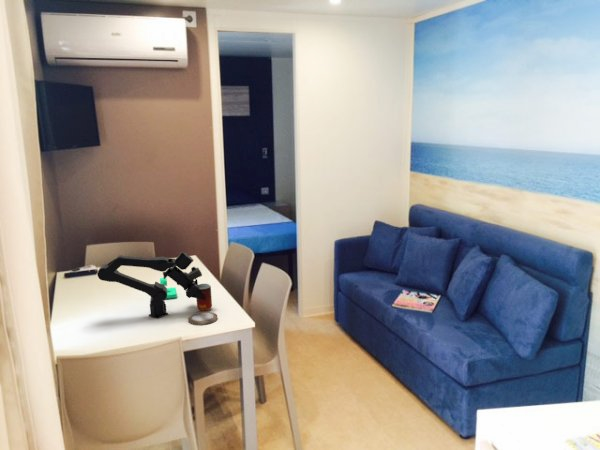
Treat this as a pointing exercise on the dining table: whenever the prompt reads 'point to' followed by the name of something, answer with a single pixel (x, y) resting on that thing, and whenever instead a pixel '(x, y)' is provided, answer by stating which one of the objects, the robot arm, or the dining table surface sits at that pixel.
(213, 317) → the brown rimmed plate
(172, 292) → the camera mount
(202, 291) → the soda can
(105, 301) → the dining table surface
